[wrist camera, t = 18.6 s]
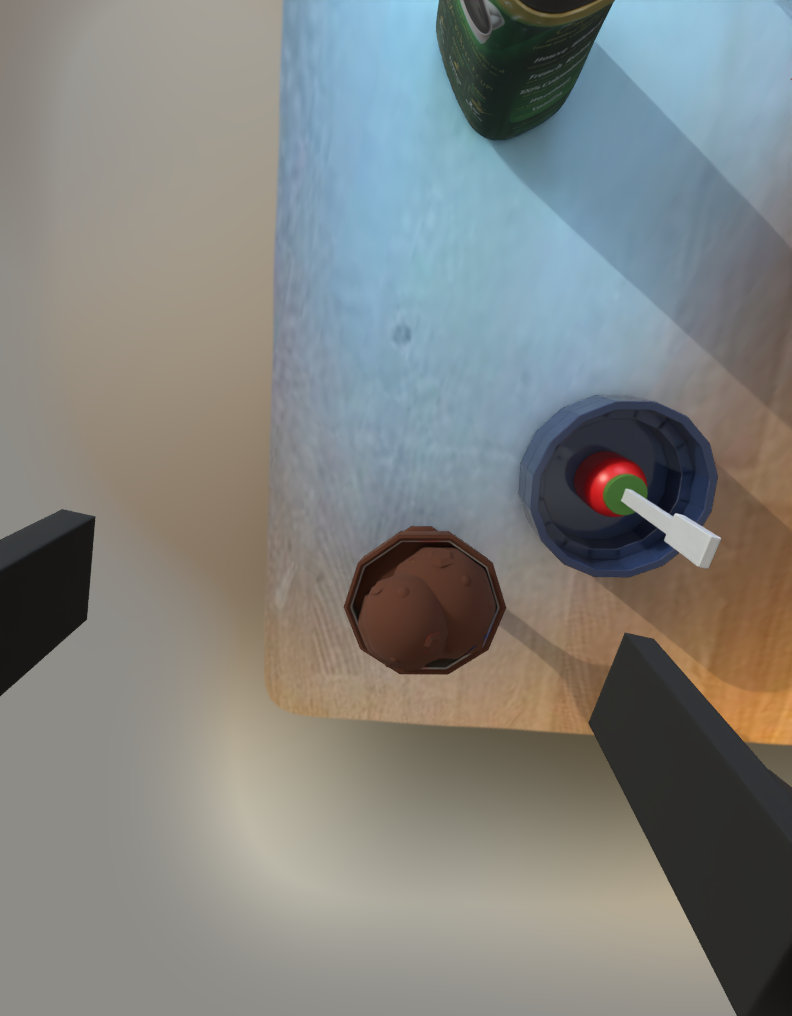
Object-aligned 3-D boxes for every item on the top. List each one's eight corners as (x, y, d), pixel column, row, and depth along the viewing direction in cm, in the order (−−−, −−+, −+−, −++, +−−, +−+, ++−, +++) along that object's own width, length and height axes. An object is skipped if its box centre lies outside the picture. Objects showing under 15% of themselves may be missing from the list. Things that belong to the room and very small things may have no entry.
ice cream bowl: (383, 628, 48) (373, 748, 34) (340, 514, 45) (310, 594, 31) (498, 595, 47) (538, 705, 33) (462, 476, 44) (489, 541, 30)
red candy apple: (566, 499, 44) (651, 583, 29) (584, 445, 43) (684, 502, 27) (620, 512, 44) (733, 601, 29) (640, 458, 43) (770, 521, 28)
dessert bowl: (495, 432, 43) (506, 443, 38) (659, 368, 42) (692, 371, 37) (546, 574, 47) (562, 600, 42) (699, 520, 45) (733, 541, 40)
